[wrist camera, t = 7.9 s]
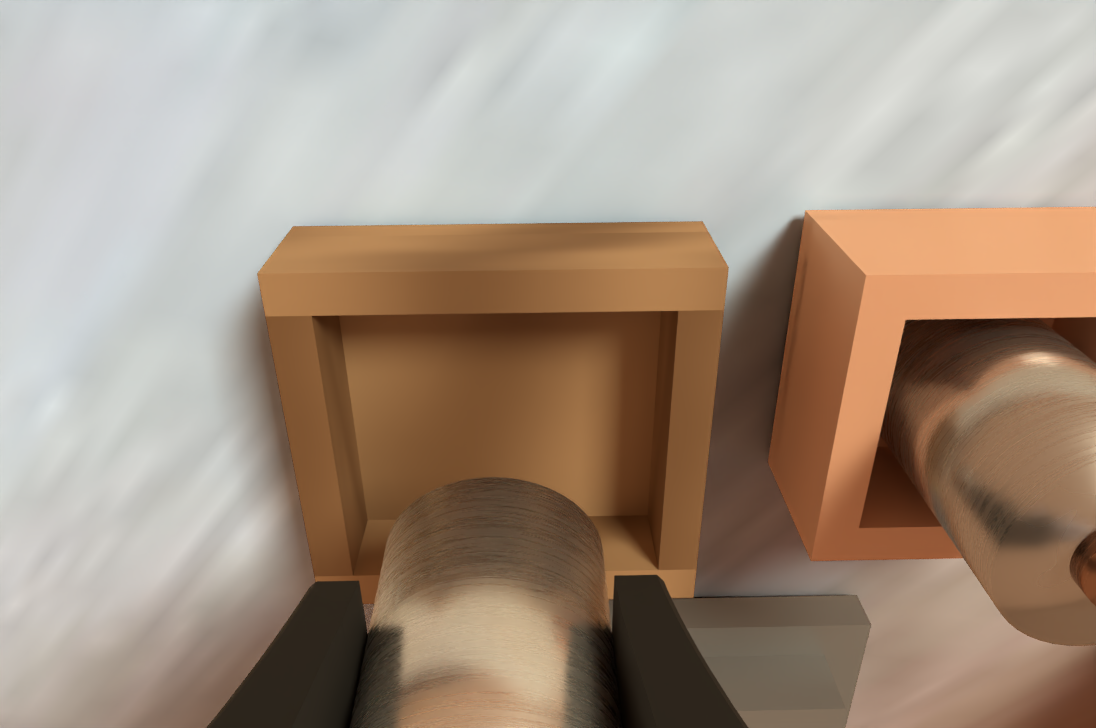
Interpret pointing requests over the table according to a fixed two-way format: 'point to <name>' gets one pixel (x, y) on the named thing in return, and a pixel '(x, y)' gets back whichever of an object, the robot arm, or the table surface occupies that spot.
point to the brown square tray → (499, 378)
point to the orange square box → (873, 344)
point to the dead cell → (1005, 461)
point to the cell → (490, 615)
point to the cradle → (781, 655)
